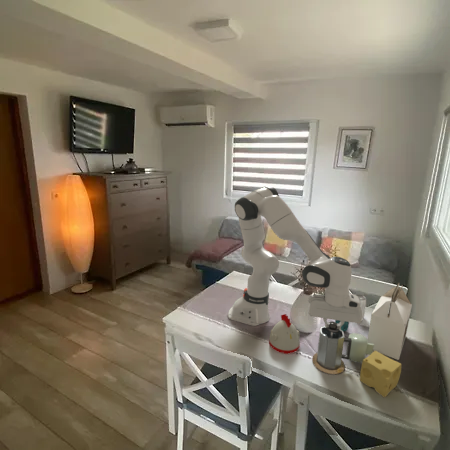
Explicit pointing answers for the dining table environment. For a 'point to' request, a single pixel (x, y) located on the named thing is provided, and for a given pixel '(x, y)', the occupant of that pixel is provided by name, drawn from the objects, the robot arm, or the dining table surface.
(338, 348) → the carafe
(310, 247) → the robot arm
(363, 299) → the can
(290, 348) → the kitchen timer
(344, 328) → the beverage bottle
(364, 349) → the mug
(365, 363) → the cheese
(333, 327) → the plunger
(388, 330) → the gable box
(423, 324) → the dining table surface
